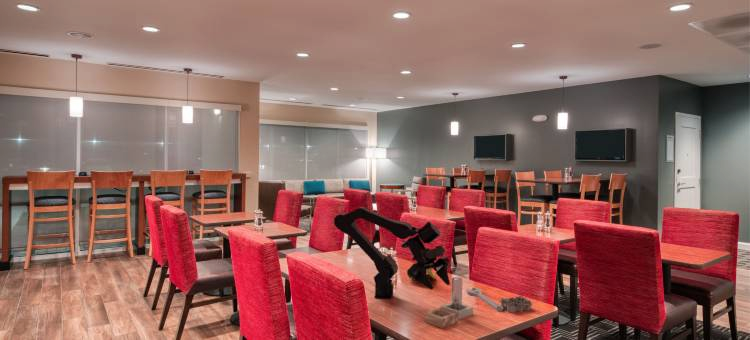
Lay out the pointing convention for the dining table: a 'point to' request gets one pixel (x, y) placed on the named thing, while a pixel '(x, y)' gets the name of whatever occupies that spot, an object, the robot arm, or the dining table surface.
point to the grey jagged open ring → (515, 304)
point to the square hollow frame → (461, 313)
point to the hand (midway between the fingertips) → (440, 286)
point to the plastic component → (430, 273)
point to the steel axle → (456, 293)
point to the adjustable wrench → (484, 298)
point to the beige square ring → (441, 317)
